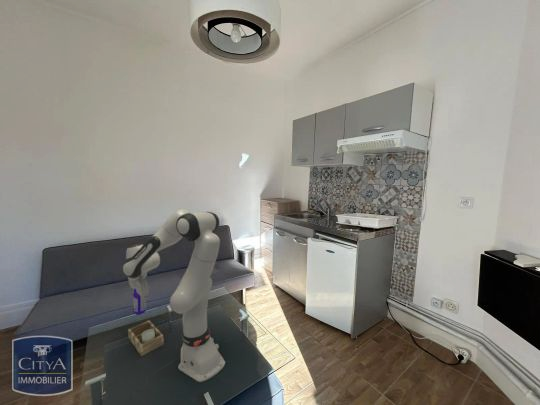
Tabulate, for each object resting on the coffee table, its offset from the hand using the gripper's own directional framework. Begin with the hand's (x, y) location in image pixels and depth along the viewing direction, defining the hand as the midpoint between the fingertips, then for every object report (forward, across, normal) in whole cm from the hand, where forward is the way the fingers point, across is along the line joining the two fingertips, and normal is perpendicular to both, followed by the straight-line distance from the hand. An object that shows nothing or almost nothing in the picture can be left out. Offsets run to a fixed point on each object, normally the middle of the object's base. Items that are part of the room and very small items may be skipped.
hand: (139, 298), depth 126 cm
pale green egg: (+22, -10, 0) cm, 24 cm away
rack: (+23, -5, 0) cm, 24 cm away
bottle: (+8, 0, +1) cm, 8 cm away
